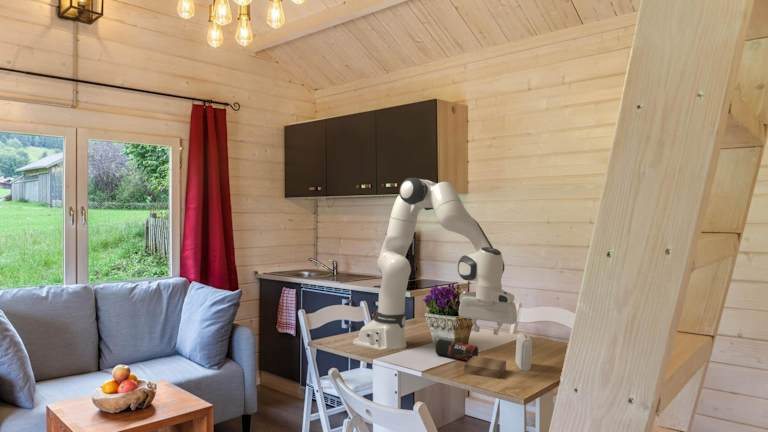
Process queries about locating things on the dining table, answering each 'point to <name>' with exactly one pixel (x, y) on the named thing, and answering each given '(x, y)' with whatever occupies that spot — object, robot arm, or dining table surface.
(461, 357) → the deodorant
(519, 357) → the photo printer
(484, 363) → the walnut block
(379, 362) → the dining table surface
